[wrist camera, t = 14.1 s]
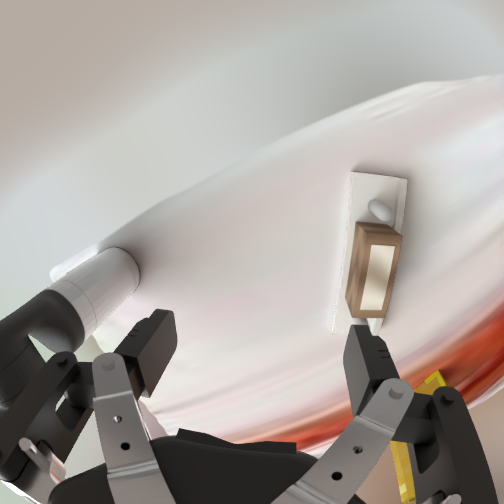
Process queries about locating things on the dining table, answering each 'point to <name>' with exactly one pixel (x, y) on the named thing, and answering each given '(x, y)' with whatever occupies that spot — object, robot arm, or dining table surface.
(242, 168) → the dining table surface
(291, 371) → the dining table surface
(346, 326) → the board
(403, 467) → the book
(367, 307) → the frame
